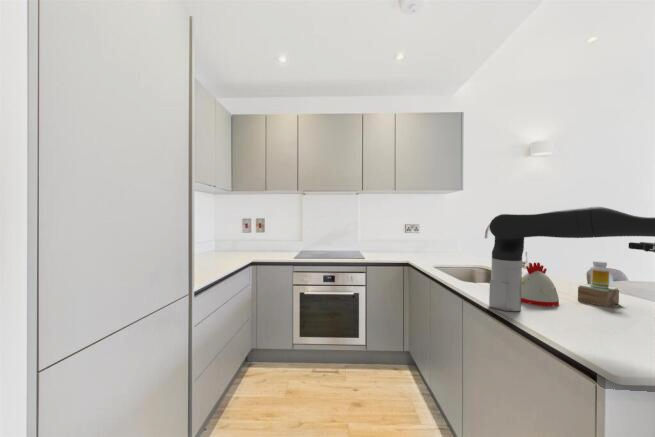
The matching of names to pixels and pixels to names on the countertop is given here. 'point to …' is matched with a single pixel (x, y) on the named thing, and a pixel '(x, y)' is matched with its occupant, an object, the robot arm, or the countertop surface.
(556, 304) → the grey and red dome
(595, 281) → the supplement bottle
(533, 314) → the countertop surface
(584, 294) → the stand
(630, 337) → the countertop surface
